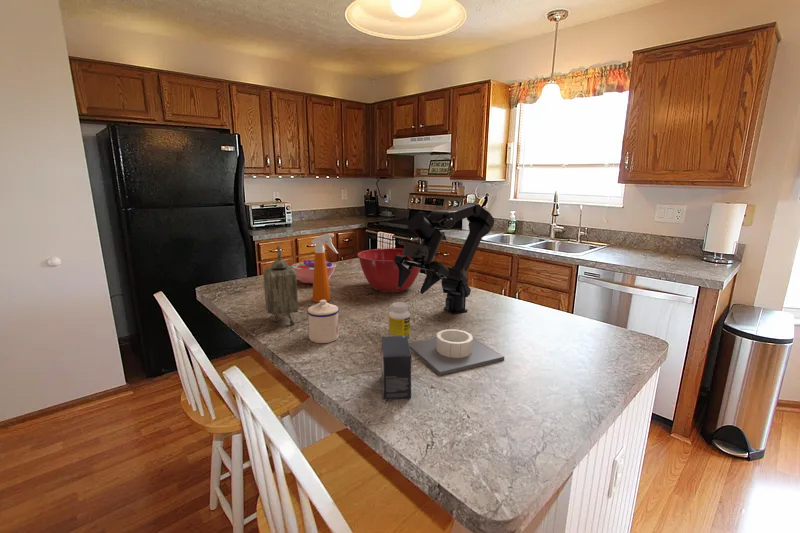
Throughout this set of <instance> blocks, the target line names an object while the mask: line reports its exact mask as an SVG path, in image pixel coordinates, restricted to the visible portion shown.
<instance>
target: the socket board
mask: <svg viewBox="0 0 800 533" xmlns="http://www.w3.org/2000/svg"><path fill="white" fill-rule="evenodd" d="M408 343H409V347H410V351H411V353H413V354H415V355H416V356H417V357H418V358H419V359H420V360H422V362H424V363H425V364H426V365H427V366H428V367H429V368H431V369H432V370H433V371H434V372H436V374H438V376H440V377H441V376H444V375H449V374H453V373H456V372H457V373H458V372H460V371H464V370H468V369H469V370H470V369H472V368H477V367H480V366H481V365H482V366H485V365H489V364H493V363H497V362H502V361H505V356H504V355H503V354H501V353H500V352H498V351H497V350H494V349H493V348H491V347H490V346H488V345H487V344H485V343H483V342H482V341H481V340H479V339H477V338H475V337H474V336H473V334H471V333H470V332H468V331H464V330H463V329H462V330H461V329H454V328H453V329H452V328H450V329H449V328H448V329H442V330H440V331H438V332H437V333H436V337H432V338H428V339H422V340H417V341H416V340H415V341H412V342H411V341H410V342H408ZM482 366H481V367H482Z"/></svg>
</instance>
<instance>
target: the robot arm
mask: <svg viewBox="0 0 800 533" xmlns="http://www.w3.org/2000/svg"><path fill="white" fill-rule="evenodd" d="M465 219H466V220H467V221H468V224H467V225H468V231H469V232H468V235H467V237H466V239H465V241H464V244H463V245H462V248H461V249H460V252H459V254H458V257H457V258H456V261H455V263H454V265H453V266H451V267H449V266H448V267H447V266H445V265H444V264H443V263H442V262H437V261H434V259H435V257H438V255H439V252H438V249H439V246H440V244H441V242H442V241H446V240H447V236H446V233H445V232H444V231H441V230H451V228H452V227H454V226H455V225H456V223H457V222H458V221H461V220H465ZM494 225H495V218H494V217H493V215H492V214H491V213H490V212H489V211H488V210H486V208H483V206H482V205H481V204H480V203H477V202H466V203H464V204H462V205H459V206H456V207H454V208H451V209H436V210H432V211H430V213H429V215H427V214H426V212H424V211H418V213H417V214H415V215H414V216H413V217H411V218H410V219H409V221H408V223H407V228H408V230H410V232H412V234H414V236H416V237H417V238H419V239H420V240H421V241H420V243H417V244H416V245H415V246H412V245H411V246H410V245H404V246H403V249H404V251H403V255H399V254H398V255H396V256H395V258H394V262H395V263H396V265H397V266H398V269H399V279H398V287H399V288H401V287H402V285H403V284H404V282H405V281H406V279H407V278H408V276H409V275H410V273H411V271H410V269H412V268H413V267H416V268H420V270H425V272H426V274H425V279H424V281H423V283H422V286H421V288H420V291H419V293H420V294H421V295H423V294H424V293H426V292H427V291H428V290H429V289H430V288H432V287H433V286H434V285H435V284H436V283H438V282H439V281H441V288H442V292H443V294H446V298H445V306H444V307H443V310H446V311H447V312H449V313H450V314H452V315H453V314H462V313H467V312H468V311H469V310H468V309H466V301H467V300H466V298H468V297H469V296H470V295H471V291H472V289H471V287H470V286H469V285H468V280H469V279H468V270H469V268H470V266H471V263H472V261H473V259H474V257H475V254H476V252H477V250H478V247H479V246H480V243H481V241H482V238H484V237H485V236H486V235H488V234H489V233H490V232H491V230H492V228H493V227H494ZM406 255H407V256H410V258H411V259H413V261H412V260H410V259H409V258H408V257H407V256H406Z"/></svg>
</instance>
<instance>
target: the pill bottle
mask: <svg viewBox="0 0 800 533" xmlns="http://www.w3.org/2000/svg"><path fill="white" fill-rule="evenodd" d="M408 307H409V306H408V303H406V302H403V301H396V302H393V303H392V304H391V310H390V312H389V313H388V336H407V338H408V342H409V340H410V330H411V314H410V311H408V309H409V308H408Z"/></svg>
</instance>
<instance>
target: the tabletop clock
mask: <svg viewBox="0 0 800 533" xmlns="http://www.w3.org/2000/svg"><path fill="white" fill-rule="evenodd" d="M276 248H277V250H276V251H277V260H275V261H273V263H272V264H271V266H269V267H267V268H265V269H263V271H262V272H263V286H264V301H265V307H266V308H265V309H266V312H267V313H268V314H270V315H273V316H274V317H272V321H274V322H278V320H279V316H278V315H286V316H287V317H288V319H289V320H290V321H289V324H290V325H291V326H293V325H295V324H296V321H295V320H294V319H292V316H291V314H293V313H299V300H298V298H299V297H298V296H299V295H298V283H297V281H298V280H297V279H298V278H297V277H296V272H295V270H294V268H293V266H292V265H293V264H291V265H289V264H288V263H287V261H285V260H284V259H282V250H281V247H280V246H279V245H277V247H276Z"/></svg>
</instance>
